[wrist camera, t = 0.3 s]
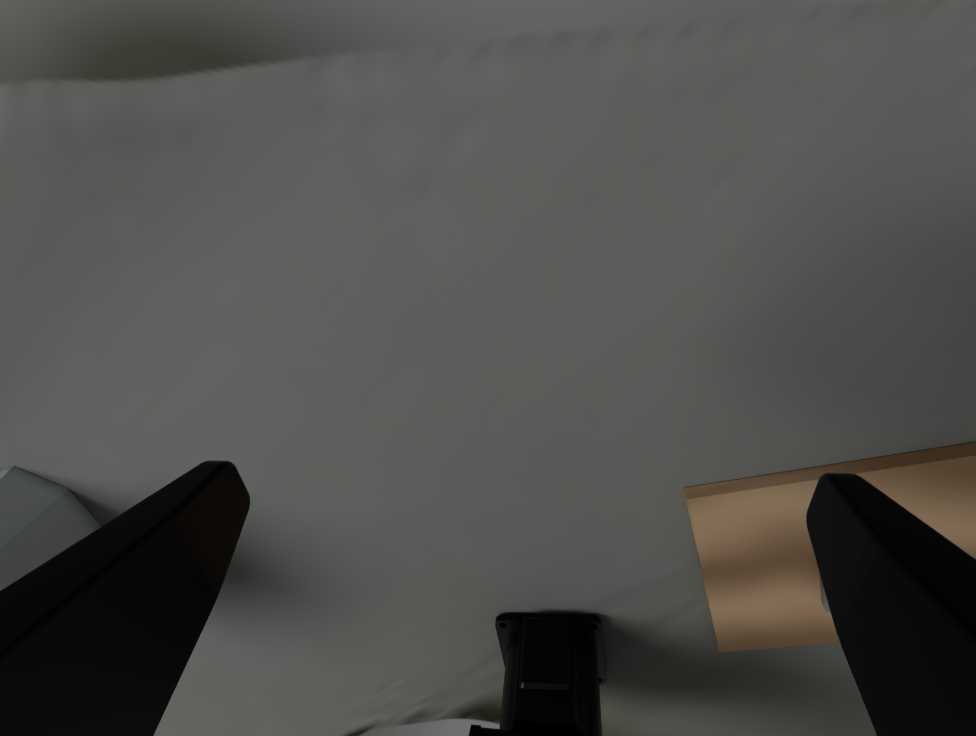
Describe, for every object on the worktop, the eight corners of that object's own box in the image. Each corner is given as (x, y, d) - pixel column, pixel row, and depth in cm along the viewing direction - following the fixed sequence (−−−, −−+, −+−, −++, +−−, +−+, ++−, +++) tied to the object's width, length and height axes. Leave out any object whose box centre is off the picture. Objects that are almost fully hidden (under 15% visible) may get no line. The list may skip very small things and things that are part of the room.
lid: (956, 619, 29) (974, 644, 27) (716, 639, 32) (722, 662, 31) (976, 442, 23) (998, 462, 22) (683, 488, 26) (689, 508, 25)
